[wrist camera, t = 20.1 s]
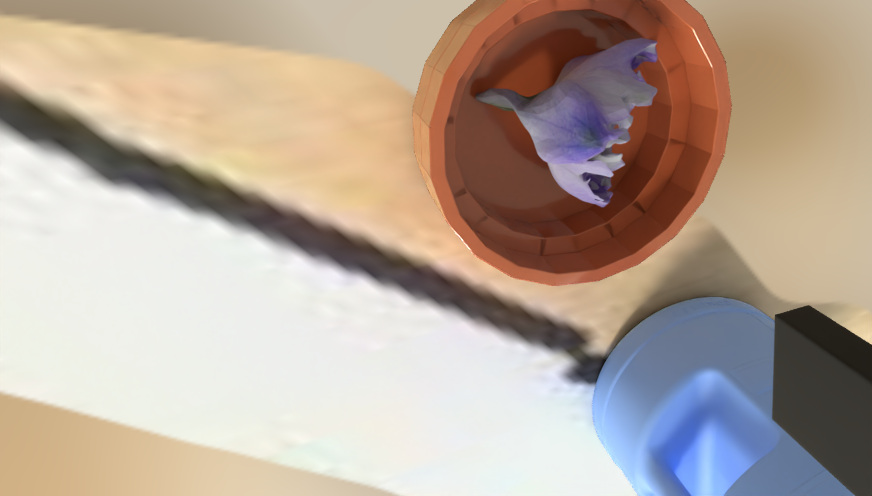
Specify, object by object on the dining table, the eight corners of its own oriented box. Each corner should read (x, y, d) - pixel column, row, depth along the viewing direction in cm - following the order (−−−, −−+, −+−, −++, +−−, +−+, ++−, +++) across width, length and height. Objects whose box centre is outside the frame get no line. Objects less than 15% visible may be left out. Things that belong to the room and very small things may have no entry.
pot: (405, -25, 34) (424, -28, 28) (687, -32, 36) (754, -36, 31) (417, 257, 40) (434, 299, 35) (656, 233, 43) (707, 269, 37)
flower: (457, 201, 31) (669, 191, 29) (455, 31, 32) (665, 5, 29) (495, 215, 40) (659, 209, 37) (493, 82, 41) (656, 66, 38)
